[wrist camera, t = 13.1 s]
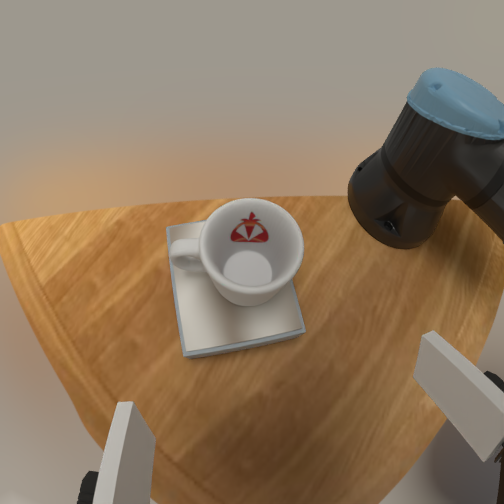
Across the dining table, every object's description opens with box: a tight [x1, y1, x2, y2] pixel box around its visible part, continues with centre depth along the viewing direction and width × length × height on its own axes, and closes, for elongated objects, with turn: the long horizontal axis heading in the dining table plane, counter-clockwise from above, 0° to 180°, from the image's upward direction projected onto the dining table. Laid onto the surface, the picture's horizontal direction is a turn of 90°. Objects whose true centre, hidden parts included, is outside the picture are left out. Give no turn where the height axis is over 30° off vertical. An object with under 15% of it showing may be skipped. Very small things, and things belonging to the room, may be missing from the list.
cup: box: [169, 198, 304, 306], centre depth 25 cm, size 11×8×8 cm
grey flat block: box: [166, 220, 306, 359], centre depth 31 cm, size 12×14×5 cm
